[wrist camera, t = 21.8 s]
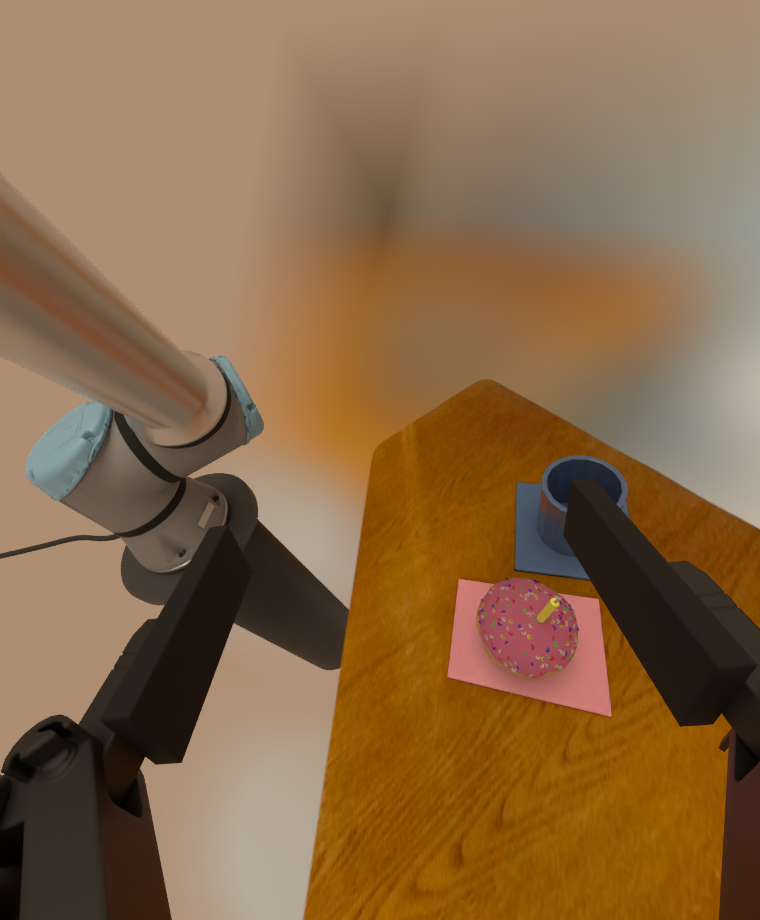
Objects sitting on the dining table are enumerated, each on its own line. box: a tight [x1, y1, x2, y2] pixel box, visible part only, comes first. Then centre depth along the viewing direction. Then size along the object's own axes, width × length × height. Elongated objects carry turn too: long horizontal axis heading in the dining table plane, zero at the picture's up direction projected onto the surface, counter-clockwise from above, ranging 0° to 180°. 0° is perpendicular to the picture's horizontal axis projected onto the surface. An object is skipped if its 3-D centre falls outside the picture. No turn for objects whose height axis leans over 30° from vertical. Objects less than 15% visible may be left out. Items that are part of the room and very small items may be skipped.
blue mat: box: [515, 483, 629, 580], centre depth 42 cm, size 12×12×1 cm
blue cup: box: [536, 456, 628, 557], centre depth 39 cm, size 7×7×9 cm
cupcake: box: [476, 577, 579, 680], centre depth 31 cm, size 9×8×12 cm
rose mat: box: [448, 579, 612, 717], centre depth 36 cm, size 14×10×1 cm
